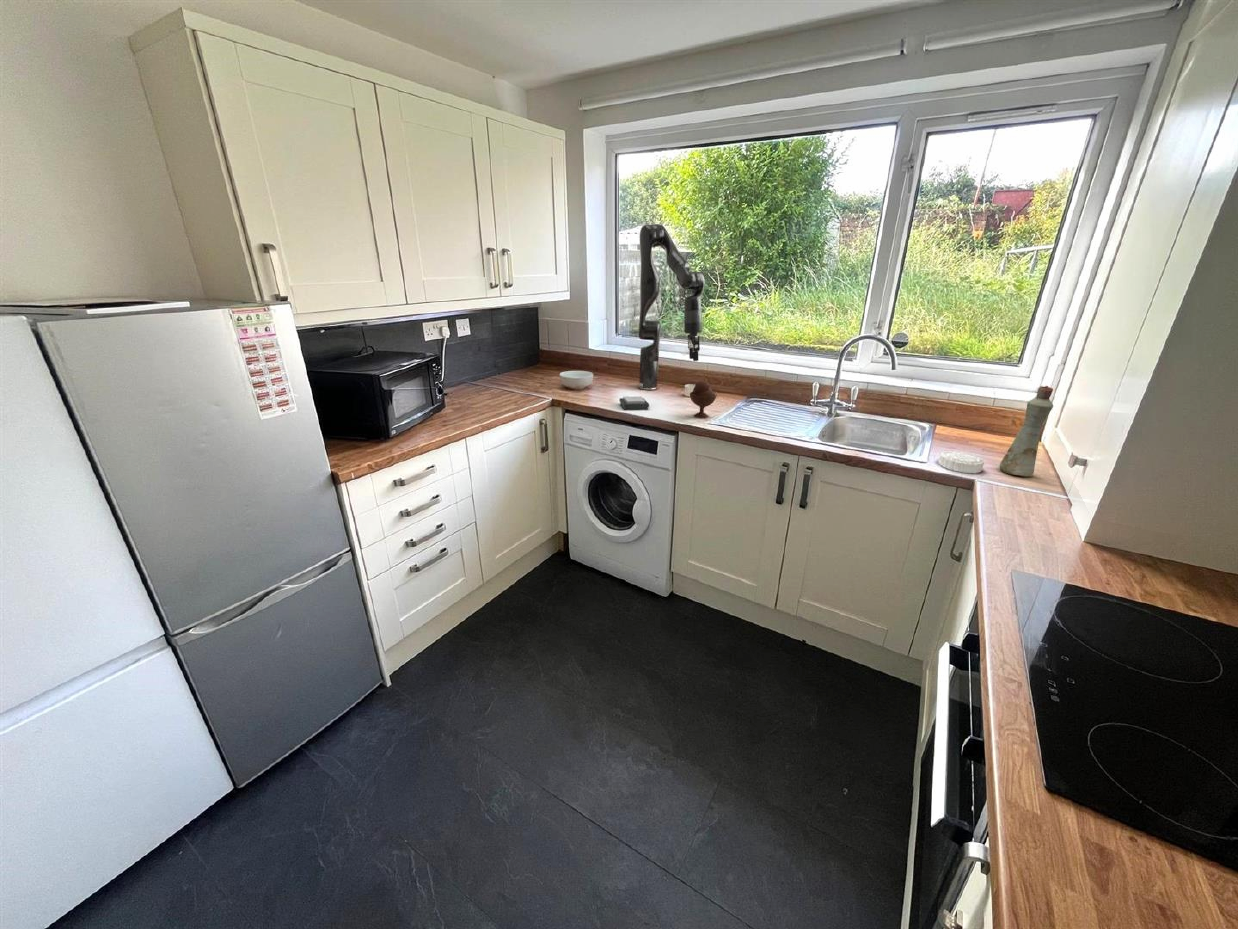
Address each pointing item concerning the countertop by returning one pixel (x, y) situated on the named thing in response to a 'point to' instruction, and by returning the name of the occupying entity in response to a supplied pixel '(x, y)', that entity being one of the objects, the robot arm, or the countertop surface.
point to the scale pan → (634, 400)
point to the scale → (634, 405)
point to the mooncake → (961, 462)
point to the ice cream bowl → (702, 397)
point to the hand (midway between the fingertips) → (693, 359)
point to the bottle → (1028, 436)
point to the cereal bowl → (576, 379)
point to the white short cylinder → (688, 389)
